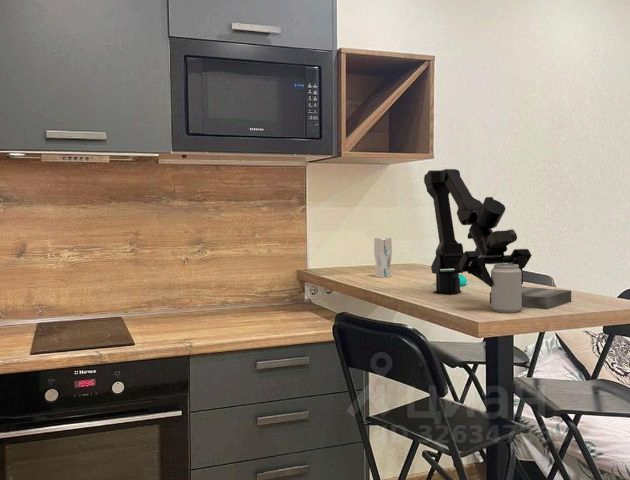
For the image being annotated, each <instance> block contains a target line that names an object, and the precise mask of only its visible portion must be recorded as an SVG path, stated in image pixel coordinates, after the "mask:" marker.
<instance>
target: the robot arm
mask: <svg viewBox="0 0 630 480" xmlns="http://www.w3.org/2000/svg"><path fill="white" fill-rule="evenodd" d="M423 180H424V181H423V182H424V185H425V187H426V192H427V193H428V195H429V196H430V197H431V198H432V199H433V207H434V212H435V220H436V227H437V234H438V240H439V241H438V246H437V248H436V250H435V257H434V259H433V262H432V264H431V265H430V267H431V269H430V270H431V274H435V281H436V283H435V286H436V287H435V289H436V290H433V293H436V294H446V295H453V294H458V293H462V290H461V286H460V278H459V274H464V273H467V274H468V275H469V274H470V275H472V276H474V277H476V278H477V279H479V280H480V281H482V282H484V284H486V285H487V286H489V287H490V288H491V287H492V286H493V282H492V279H491V274H490V273H489V271H488V269H487V266H486V265H495V264H517V265H519V266H518V268H519V269H520V270H521V271H522V285H523V284H524V278H523V277H524V276H523V275H524V274H523V269H524V268H525V267H526V265H528V263H529V261H530V259H531V258H532V254H531V252H530V250H529V249H528V248H514V249H513V250H512V252H511V253H510V254H507V255H506V254H505V253H506V252H507V251H508V246H509V245H510V244H514V242H516V241H517V240H518V236H517V233H516V231H515V230H514V229H513V228H510V229H507V230H494V231H493V229H495V228H497V227H498V226H499V225H498V224H500V221H501V219H502V217H503V215H504V214H505V212H506V206H505V205H504V204H503V203H502V202H501V201H499V200H496V199H494V197H493V196H486V197H485V198H484V201H483V203H482V201H481V200H479V199H478V198H474V196H473V195H472V193H471V192H470V190H469V188H468V187H467V185H466V183H465V182H464V180H463V178H462V177H461V172H460V170H458V169H456V168H444V169H440V170H439V169H438V170H436V169H435V170H428V171H427V173H426V174H424V177H423ZM449 195H451V197H452V199H453V200H454V202H455V204H456V206H457V210H456V215H457V219H458V221H459V223H460V224H461V225H462V226H470V227H469V229H468V234H467V240H470V239H471V240H473V242H474V244H475V246H476V248H475V249H474V250H465V251H464V245H463V243H461V242H458V241H457V240H456V236H455V229H454V224H453V223H454V222H453V215H452V209H451V205H450V204H451V203H450V197H449Z"/></svg>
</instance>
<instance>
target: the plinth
mask: <svg viewBox="0 0 630 480" xmlns="http://www.w3.org/2000/svg"><path fill="white" fill-rule="evenodd" d="M570 302H572V290H570V289H569V290H567V289H558V288H557V289H556V288H542V287H531V286H522V307H523V308H533V309H541V310H542V309H543V310H548V309H551V308H556V307H559V306H561V305H564V304H568V303H570ZM489 304H491V291H490V292H489Z"/></svg>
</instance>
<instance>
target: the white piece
mask: <svg viewBox="0 0 630 480" xmlns="http://www.w3.org/2000/svg"><path fill="white" fill-rule="evenodd" d="M373 252H374V259H375V263H376V264H375V265H376V272H375V278H381V279H383V278H384V279H385V278H386V279H387V277H388V278H391V277H392V273H391V272H392V271H391V261H392V257H393V255H392V254H393V244H392V238H391V237H380V238H379V237H378V238H377V237H376V238H374V244H373Z"/></svg>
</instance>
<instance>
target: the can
mask: <svg viewBox="0 0 630 480" xmlns="http://www.w3.org/2000/svg"><path fill="white" fill-rule="evenodd" d="M518 266H519V265H517V264H508V263H506V264H493V267H492V269H491V270H490V277H491V279H492V282H493V286H492V287H490V292H491V303H490V304H491V305H490V307H491V308H492V309H493V311H494V312H498V313H507V314H508V313H517V312H519V311H520V310H521V309H523V308H522V287H523V286H522V285H523V284H522V273H523V270H522V271H521V270H520V269H519V268H518Z"/></svg>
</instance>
